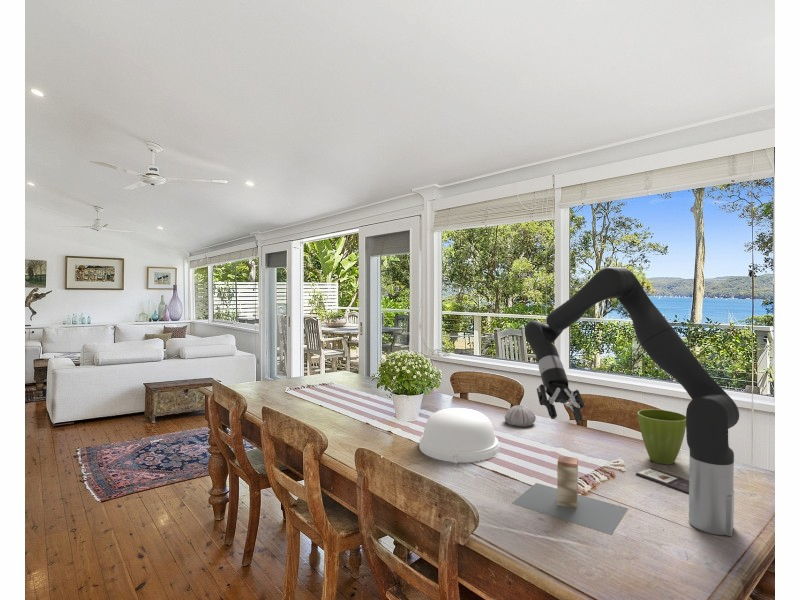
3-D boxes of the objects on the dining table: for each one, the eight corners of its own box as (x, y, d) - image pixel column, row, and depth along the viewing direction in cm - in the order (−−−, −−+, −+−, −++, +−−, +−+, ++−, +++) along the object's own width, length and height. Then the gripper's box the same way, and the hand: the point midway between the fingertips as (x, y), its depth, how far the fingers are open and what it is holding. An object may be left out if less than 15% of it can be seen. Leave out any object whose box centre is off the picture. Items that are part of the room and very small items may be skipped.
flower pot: (631, 460, 160) (631, 415, 159) (644, 449, 171) (644, 406, 170) (680, 472, 149) (681, 423, 149) (690, 459, 160) (691, 414, 160)
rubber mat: (628, 510, 124) (628, 508, 124) (611, 536, 111) (611, 534, 111) (536, 484, 141) (536, 482, 141) (511, 504, 128) (511, 503, 128)
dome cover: (425, 432, 192) (425, 399, 192) (499, 437, 186) (499, 402, 186) (412, 460, 161) (412, 421, 161) (500, 467, 155) (500, 426, 155)
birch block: (577, 500, 129) (578, 458, 129) (576, 508, 124) (577, 464, 124) (558, 497, 131) (559, 455, 131) (557, 504, 127) (557, 461, 126)
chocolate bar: (695, 495, 132) (635, 473, 148) (695, 498, 132) (635, 476, 148) (711, 488, 137) (651, 467, 152) (711, 491, 137) (651, 470, 152)
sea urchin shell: (524, 430, 194) (524, 411, 194) (498, 423, 204) (498, 405, 204) (541, 424, 203) (541, 406, 203) (515, 417, 213) (515, 400, 213)
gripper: (539, 363, 142) (552, 410, 132) (578, 370, 146) (594, 416, 135) (527, 376, 148) (539, 422, 137) (565, 382, 151) (580, 428, 140)
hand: (566, 419), depth 136 cm, fingers open, 8 cm apart
